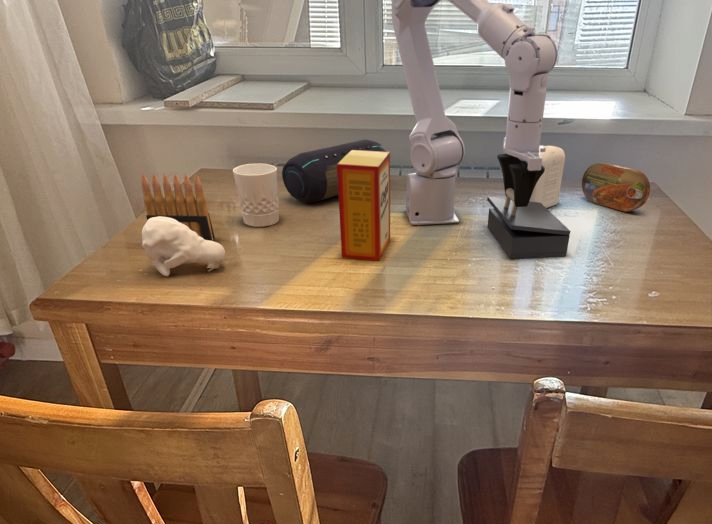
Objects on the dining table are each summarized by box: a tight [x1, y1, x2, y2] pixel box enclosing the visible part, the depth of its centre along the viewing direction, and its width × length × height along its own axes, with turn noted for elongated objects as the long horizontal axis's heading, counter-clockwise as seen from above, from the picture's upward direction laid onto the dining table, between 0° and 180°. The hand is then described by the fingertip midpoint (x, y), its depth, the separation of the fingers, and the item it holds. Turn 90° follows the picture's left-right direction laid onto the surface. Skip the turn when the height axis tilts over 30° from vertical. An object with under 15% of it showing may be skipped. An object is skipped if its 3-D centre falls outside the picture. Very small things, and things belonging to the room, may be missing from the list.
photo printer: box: [530, 145, 566, 209], centre depth 119 cm, size 10×4×12 cm, turn 134°
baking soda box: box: [337, 150, 391, 262], centre depth 98 cm, size 10×6×16 cm
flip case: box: [486, 207, 571, 260], centre depth 105 cm, size 10×15×4 cm
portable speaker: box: [281, 139, 387, 203], centre depth 125 cm, size 25×10×10 cm, turn 137°
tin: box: [581, 162, 651, 213], centre depth 122 cm, size 15×3×8 cm, turn 41°
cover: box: [486, 188, 572, 236], centre depth 103 cm, size 11×15×4 cm
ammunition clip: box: [140, 173, 216, 242], centre depth 100 cm, size 11×2×12 cm, turn 91°
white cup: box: [232, 162, 280, 228], centre depth 110 cm, size 8×8×10 cm
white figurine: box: [141, 216, 226, 277], centre depth 91 cm, size 6×8×12 cm
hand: (516, 201), depth 102 cm, fingers closed on cover, 5 cm apart
